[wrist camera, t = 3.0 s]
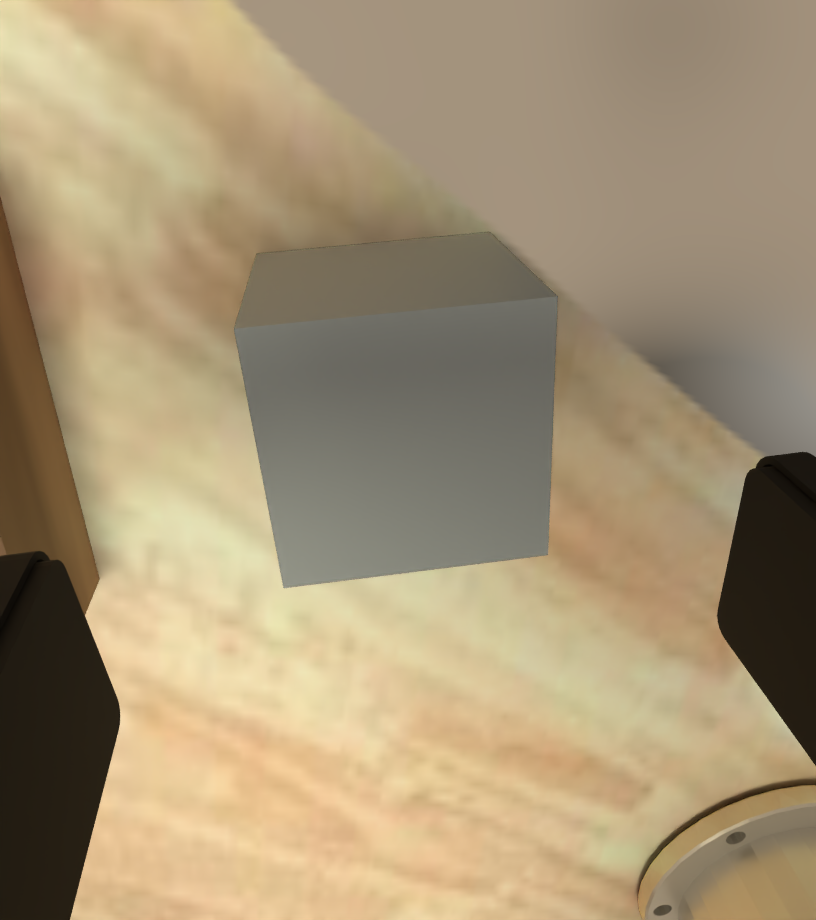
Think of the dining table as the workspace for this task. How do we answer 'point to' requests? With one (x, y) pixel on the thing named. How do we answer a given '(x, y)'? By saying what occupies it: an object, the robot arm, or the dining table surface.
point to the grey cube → (400, 405)
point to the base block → (34, 445)
